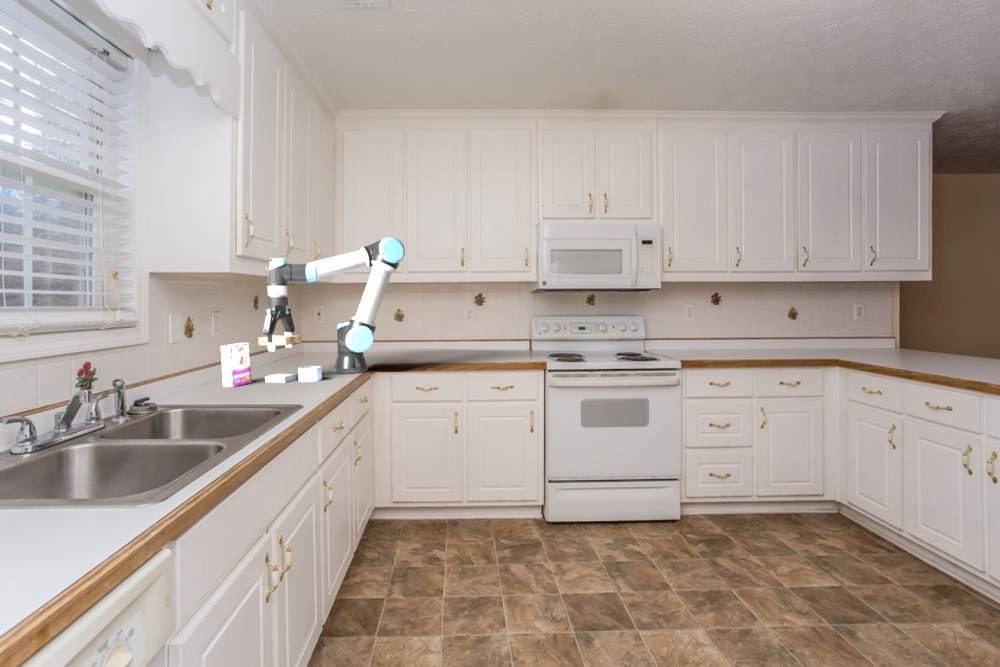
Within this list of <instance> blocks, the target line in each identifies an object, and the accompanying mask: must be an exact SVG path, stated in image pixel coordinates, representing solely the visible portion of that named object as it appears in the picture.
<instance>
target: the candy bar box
mask: <svg viewBox="0 0 1000 667" xmlns="http://www.w3.org/2000/svg"><path fill="white" fill-rule="evenodd" d="M220 355H221V357H220V358H221V372H222V387H224V388H237V387H239V386H245V385H248V384H251V383H252V372H251V371H252V370H251V352H250V343H248V342H238V343H233V344H227V345H221V346H220Z"/></svg>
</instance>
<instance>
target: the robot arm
mask: <svg viewBox="0 0 1000 667" xmlns="http://www.w3.org/2000/svg"><path fill="white" fill-rule="evenodd" d="M405 253H406V249H405V246H404V244H403V242H402V241H401V240H400V239H398V238H396V237H392V236H391V237H390V236H389V237H385V238H383V239H380V240H377V241H375V242H373V243H371V244H369V245H366V246H362V247H360V249H359V250H354V251H350V252H346V253H341V254H338V255H335V256H331V257H326V258H322V259H318V260H314V261H310V262H306V263H287V260H286V259H285V258H271V259H272V261H270V262H269V269H268V271H269V276H268V277H267V276H266V282H267V283H266V284H267V296H269V297H267V302H268V303H267V304H268V306H269V307H270V308H268V309H265V317H264V318H265V319H264V324H263V328H262V329H263V330H262V334H264V335H265V336H266V337H267V342H268V345H267V349H268V350H267V351H268V352H275V351H276V345H275V336H276V335H275V333H274V332H275V330H276V326H277V323H278V321H280V322H281V324H282V326H283V328H284V330H285V332H284V336H293V333H294V332H295V330H296V328H295V325H294V320H293V316H292V309H291V308H287V307H286V306H288V305H289V298H288V296H289V292H288V291H289V290H288V283H294V284H302V283H313V282H314V283H315V282H316V281H317V280H318V279H319V278H323V277H326V276H330V275H335V274H337V273H338V274H339V273H342V272H346V271H350V270H353V269H354V270H355V269H358V268H361V267H367V268H370V267H372V268H371V271H370V275H369V277H368V281H367V282H366V286H365V288H364V292H363V293H362V296H361V300H360V303H359V305H358V308H357V311H356V313H355V315H354V316H352V317H351V318H350V320H349V321H348V322H340V323H338V324H337V325H336V326H337V327H336V341H337V358H336V360H335V364H334V368H333V370H334V371H333V372H334V373H335V374H358V373H359V374H360V373H365V372H368V370H369V368H368V364H367V361H366V358H365V356H364V352H367V351H368V350H370V349H371V348H372V347H373V345H374V342H375V330H376V328H377V326H376V324H375V321H376V318H377V315H378V313H379V309H380V307H381V304H382V301H383V298H384V295H385V293H386V290H387V287H388V284H389V281H390V279H391V276H392V274H393V273H395V272H396V271H397V270H398V266H399V263H400V262H401V261H402V260H403V259H404V257H405ZM284 346H285V349H292V348H293V344H289V345H284Z"/></svg>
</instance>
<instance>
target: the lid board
mask: <svg viewBox="0 0 1000 667" xmlns="http://www.w3.org/2000/svg"><path fill="white" fill-rule="evenodd" d="M301 338H302V337H301V335H300V334H299V335H292V336H285V335H275V346H285V345H289V344H292V345H294V344H300V343H302V339H301ZM257 340H258V345H259V346H268V342H267V336H261V337H258V339H257Z"/></svg>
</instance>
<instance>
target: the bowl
mask: <svg viewBox="0 0 1000 667" xmlns="http://www.w3.org/2000/svg"><path fill="white" fill-rule="evenodd" d="M297 370H298V372H297V374H298V382H300V383H310V382H311V383H312V382H319V381H320V382H321V381H322V380H323V370H322V366H321V365H307V366H304V365H303V366H300V367H298V368H297Z"/></svg>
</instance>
